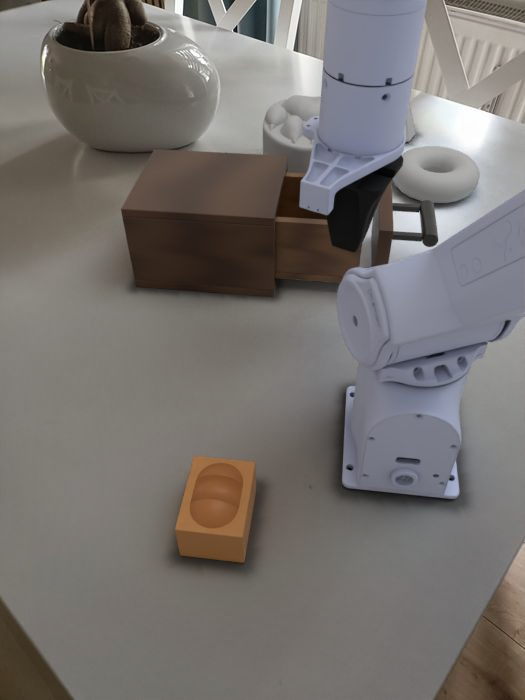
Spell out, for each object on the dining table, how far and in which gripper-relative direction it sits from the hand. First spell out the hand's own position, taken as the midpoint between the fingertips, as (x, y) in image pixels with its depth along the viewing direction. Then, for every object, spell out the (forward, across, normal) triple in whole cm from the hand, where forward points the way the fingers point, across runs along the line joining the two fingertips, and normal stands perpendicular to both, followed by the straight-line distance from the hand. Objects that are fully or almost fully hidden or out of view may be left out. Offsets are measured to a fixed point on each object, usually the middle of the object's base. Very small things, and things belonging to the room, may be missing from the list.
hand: (346, 244), depth 49 cm
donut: (+11, -29, 0) cm, 31 cm away
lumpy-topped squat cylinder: (+11, -23, -14) cm, 29 cm away
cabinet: (+10, -5, -16) cm, 19 cm away
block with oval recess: (+9, +21, +1) cm, 23 cm away
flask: (+11, -40, -10) cm, 43 cm away
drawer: (+9, -9, -3) cm, 13 cm away
